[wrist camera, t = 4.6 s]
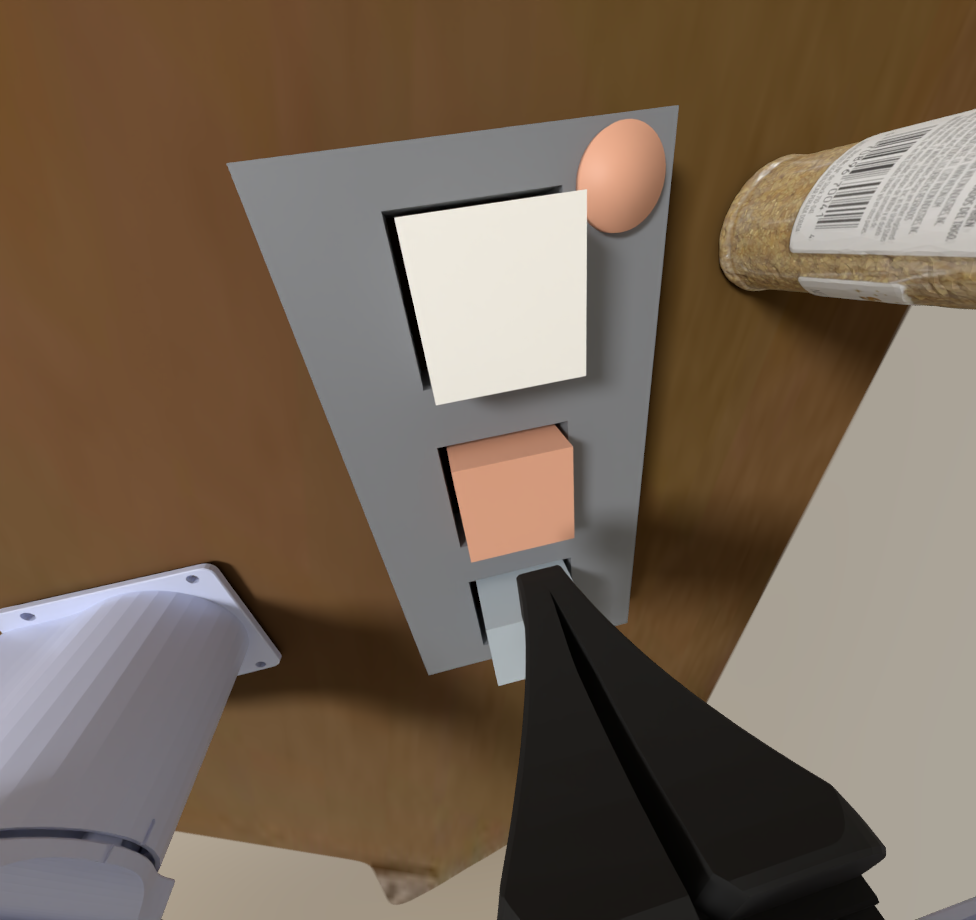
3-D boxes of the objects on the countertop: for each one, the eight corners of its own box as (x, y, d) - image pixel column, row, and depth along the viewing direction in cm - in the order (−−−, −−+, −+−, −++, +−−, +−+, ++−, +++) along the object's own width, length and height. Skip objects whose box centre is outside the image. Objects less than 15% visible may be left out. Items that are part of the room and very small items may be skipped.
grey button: (486, 626, 21) (498, 686, 18) (474, 571, 19) (485, 630, 16) (561, 606, 21) (584, 662, 19) (558, 551, 19) (585, 605, 16)
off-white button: (429, 371, 13) (435, 405, 10) (397, 226, 11) (394, 218, 8) (548, 349, 14) (586, 375, 11) (541, 204, 11) (586, 189, 9)
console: (426, 635, 23) (428, 680, 21) (261, 180, 11) (221, 161, 9) (607, 589, 24) (629, 627, 22) (631, 130, 12) (685, 101, 10)
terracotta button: (461, 512, 18) (471, 562, 15) (443, 431, 16) (451, 472, 13) (548, 493, 19) (574, 537, 16) (543, 411, 16) (572, 446, 13)
